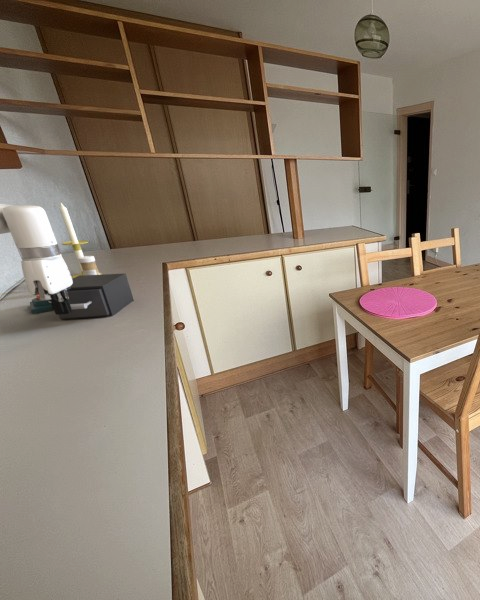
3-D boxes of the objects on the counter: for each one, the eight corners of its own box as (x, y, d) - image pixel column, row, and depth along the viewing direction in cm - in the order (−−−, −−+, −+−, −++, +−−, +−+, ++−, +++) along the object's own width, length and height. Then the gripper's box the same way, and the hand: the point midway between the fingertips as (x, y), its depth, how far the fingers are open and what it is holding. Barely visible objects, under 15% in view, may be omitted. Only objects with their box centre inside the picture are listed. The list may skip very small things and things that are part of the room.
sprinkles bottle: (107, 287, 129) (96, 255, 125) (100, 290, 125) (89, 258, 121) (93, 287, 128) (82, 255, 124) (86, 291, 124) (74, 258, 119)
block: (67, 307, 109) (63, 298, 107) (33, 314, 103) (28, 304, 102) (64, 300, 115) (60, 291, 113) (31, 306, 109) (27, 297, 108)
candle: (104, 275, 144) (80, 202, 133) (75, 280, 137) (46, 203, 125) (97, 271, 149) (73, 200, 138) (68, 276, 142) (40, 201, 130)
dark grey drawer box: (112, 316, 103) (102, 285, 100) (61, 320, 100) (48, 288, 96) (133, 300, 116) (125, 273, 113) (89, 303, 113) (79, 275, 109)
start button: (54, 298, 108) (52, 294, 107) (38, 301, 105) (36, 296, 105) (53, 296, 110) (51, 291, 109) (38, 299, 108) (36, 294, 107)
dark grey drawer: (100, 320, 98) (90, 294, 95) (50, 324, 95) (38, 297, 91) (128, 300, 114) (121, 277, 111) (86, 303, 111) (77, 279, 107)
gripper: (42, 247, 91) (65, 305, 98) (-1, 259, 78) (28, 325, 85) (74, 246, 93) (94, 303, 100) (37, 257, 80) (63, 322, 87)
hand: (64, 313), depth 92 cm, fingers closed
